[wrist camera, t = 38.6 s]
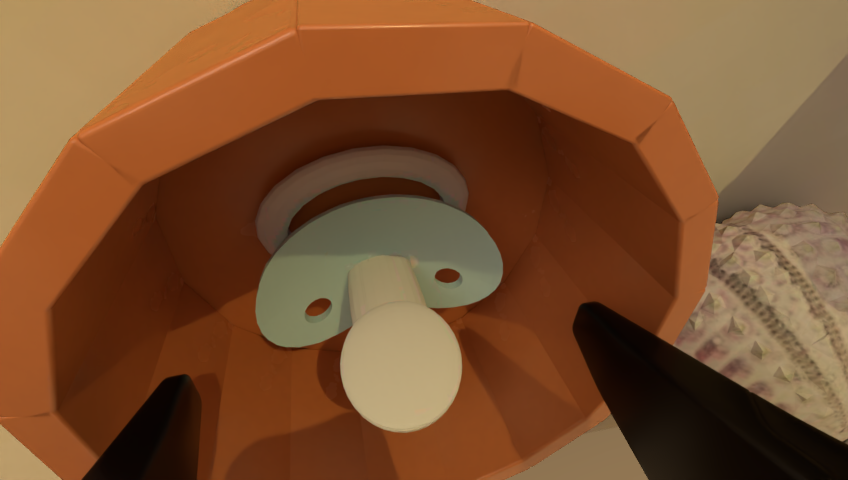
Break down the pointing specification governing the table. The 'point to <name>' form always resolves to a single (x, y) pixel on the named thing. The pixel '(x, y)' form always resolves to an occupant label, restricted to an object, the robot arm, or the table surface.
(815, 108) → the table surface
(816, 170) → the table surface
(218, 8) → the table surface
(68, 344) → the pot
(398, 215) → the pacifier
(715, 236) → the sea urchin shell
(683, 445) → the robot arm
